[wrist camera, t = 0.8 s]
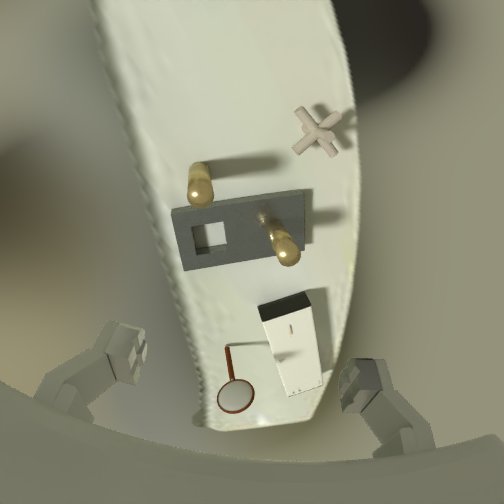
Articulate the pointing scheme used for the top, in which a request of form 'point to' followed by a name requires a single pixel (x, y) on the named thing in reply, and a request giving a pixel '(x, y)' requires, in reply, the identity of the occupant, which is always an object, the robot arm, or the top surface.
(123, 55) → the top surface
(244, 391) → the magnifying glass
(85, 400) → the robot arm
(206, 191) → the brass pin
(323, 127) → the pipe connector
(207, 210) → the bolt plate
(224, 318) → the top surface
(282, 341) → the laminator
